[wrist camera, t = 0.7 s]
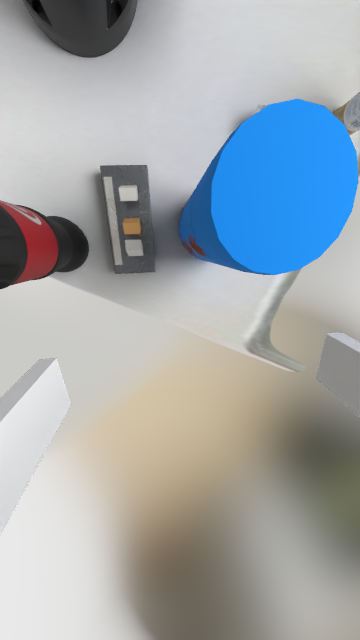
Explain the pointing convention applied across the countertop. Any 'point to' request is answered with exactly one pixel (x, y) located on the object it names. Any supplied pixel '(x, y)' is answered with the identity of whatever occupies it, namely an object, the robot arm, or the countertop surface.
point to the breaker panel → (128, 216)
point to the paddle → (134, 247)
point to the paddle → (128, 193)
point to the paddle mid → (132, 226)
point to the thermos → (274, 191)
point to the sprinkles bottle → (350, 114)
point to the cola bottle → (37, 245)
